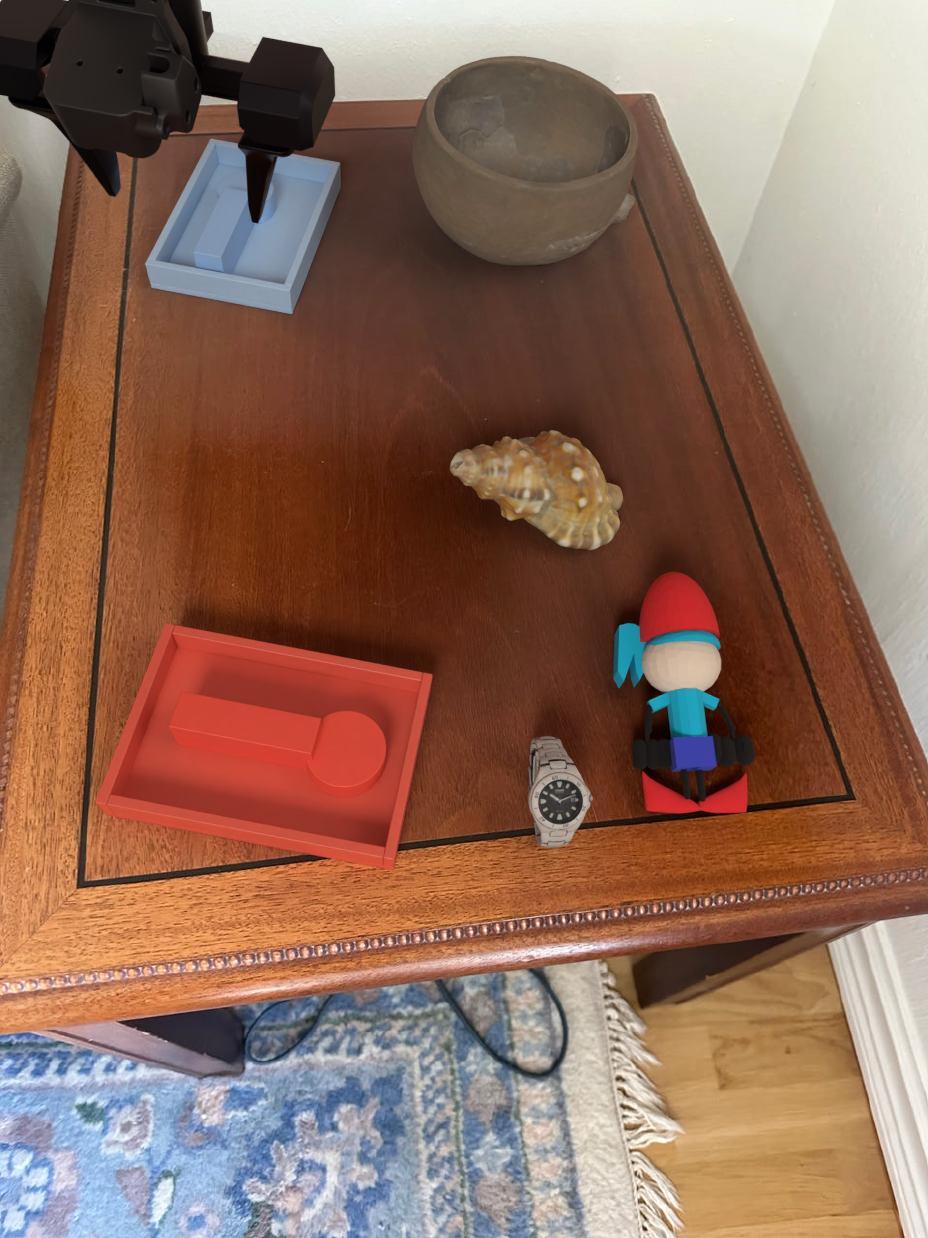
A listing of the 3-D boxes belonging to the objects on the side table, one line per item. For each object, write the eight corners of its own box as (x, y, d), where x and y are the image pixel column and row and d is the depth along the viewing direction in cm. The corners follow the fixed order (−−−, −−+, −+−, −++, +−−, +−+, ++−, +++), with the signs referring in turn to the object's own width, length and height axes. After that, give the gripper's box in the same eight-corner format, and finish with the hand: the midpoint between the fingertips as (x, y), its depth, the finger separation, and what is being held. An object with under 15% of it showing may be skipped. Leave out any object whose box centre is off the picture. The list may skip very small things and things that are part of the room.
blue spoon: (241, 289, 70) (236, 259, 68) (183, 278, 70) (176, 248, 68) (282, 195, 76) (279, 164, 74) (228, 185, 76) (224, 154, 74)
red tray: (106, 815, 50) (94, 802, 48) (172, 640, 55) (165, 622, 53) (393, 870, 50) (394, 860, 48) (430, 690, 55) (433, 673, 53)
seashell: (524, 598, 63) (465, 517, 55) (493, 517, 68) (434, 432, 60) (645, 537, 61) (602, 445, 53) (604, 458, 66) (559, 363, 58)
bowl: (654, 234, 79) (689, 123, 70) (520, 330, 71) (540, 220, 63) (508, 139, 83) (524, 24, 75) (368, 220, 76) (368, 103, 68)
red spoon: (170, 764, 51) (160, 746, 49) (196, 692, 53) (187, 671, 51) (376, 804, 51) (376, 788, 49) (393, 730, 53) (394, 711, 51)
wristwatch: (522, 856, 51) (535, 830, 46) (511, 752, 54) (523, 719, 49) (583, 853, 51) (602, 827, 47) (569, 750, 54) (586, 717, 50)
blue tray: (292, 314, 70) (289, 290, 68) (151, 287, 70) (144, 263, 68) (341, 186, 78) (340, 162, 76) (214, 163, 78) (210, 137, 76)
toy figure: (749, 815, 55) (716, 585, 60) (776, 804, 50) (738, 556, 55) (625, 821, 54) (602, 589, 59) (641, 810, 50) (614, 560, 55)
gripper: (-144, -34, 40) (-12, 261, 53) (270, 43, 40) (297, 320, 53) (-33, -142, 45) (61, 150, 59) (331, -76, 45) (341, 202, 59)
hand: (186, 205), depth 57 cm, fingers open, 9 cm apart
